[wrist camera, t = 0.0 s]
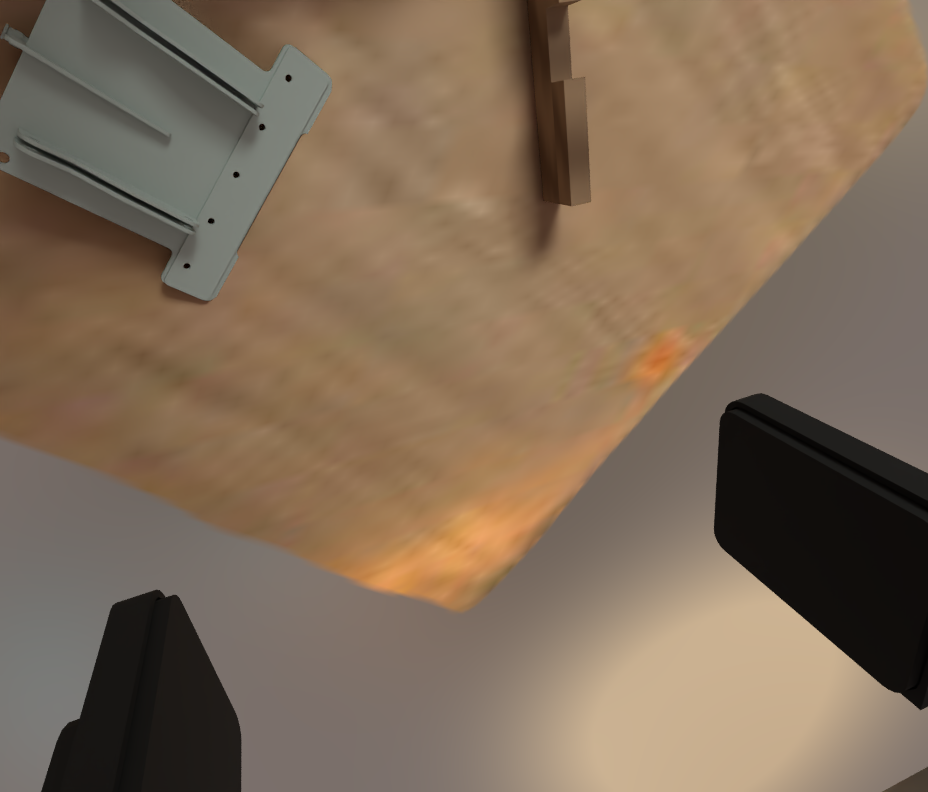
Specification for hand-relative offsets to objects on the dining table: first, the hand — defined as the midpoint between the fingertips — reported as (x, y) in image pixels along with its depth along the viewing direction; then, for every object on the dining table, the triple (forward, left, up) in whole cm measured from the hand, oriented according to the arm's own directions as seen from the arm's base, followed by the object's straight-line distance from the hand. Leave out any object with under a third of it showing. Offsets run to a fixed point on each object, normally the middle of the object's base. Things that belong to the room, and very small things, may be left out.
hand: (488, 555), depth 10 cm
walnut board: (-9, +17, -31) cm, 37 cm away
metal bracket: (-8, -6, -32) cm, 33 cm away
